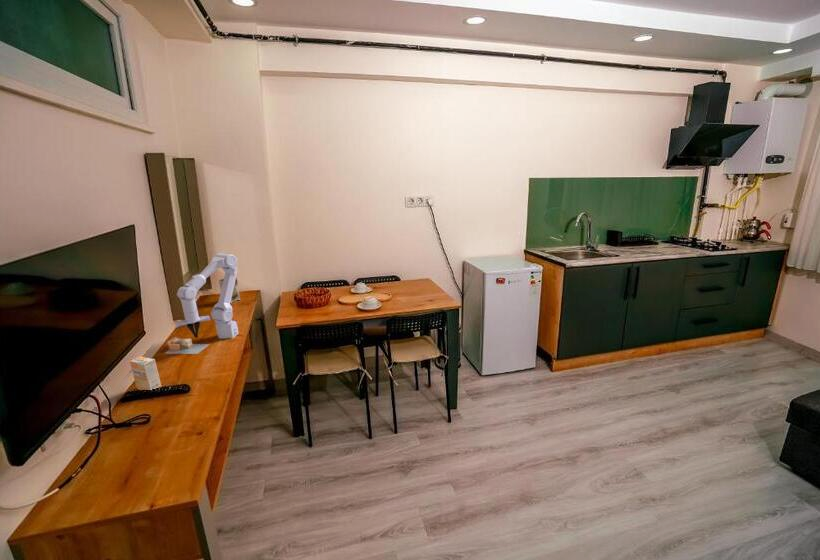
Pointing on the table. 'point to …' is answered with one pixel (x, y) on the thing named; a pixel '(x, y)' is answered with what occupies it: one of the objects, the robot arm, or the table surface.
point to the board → (193, 350)
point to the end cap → (173, 345)
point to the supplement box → (145, 373)
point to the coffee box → (235, 291)
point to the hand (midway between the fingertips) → (196, 336)
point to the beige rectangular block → (183, 343)
